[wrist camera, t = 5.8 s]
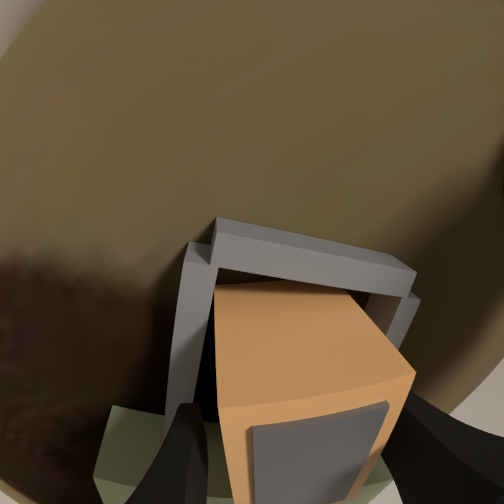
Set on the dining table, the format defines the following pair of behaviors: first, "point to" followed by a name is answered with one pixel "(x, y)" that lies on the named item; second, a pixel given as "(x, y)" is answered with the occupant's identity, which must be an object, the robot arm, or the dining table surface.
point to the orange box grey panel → (302, 391)
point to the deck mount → (194, 328)
